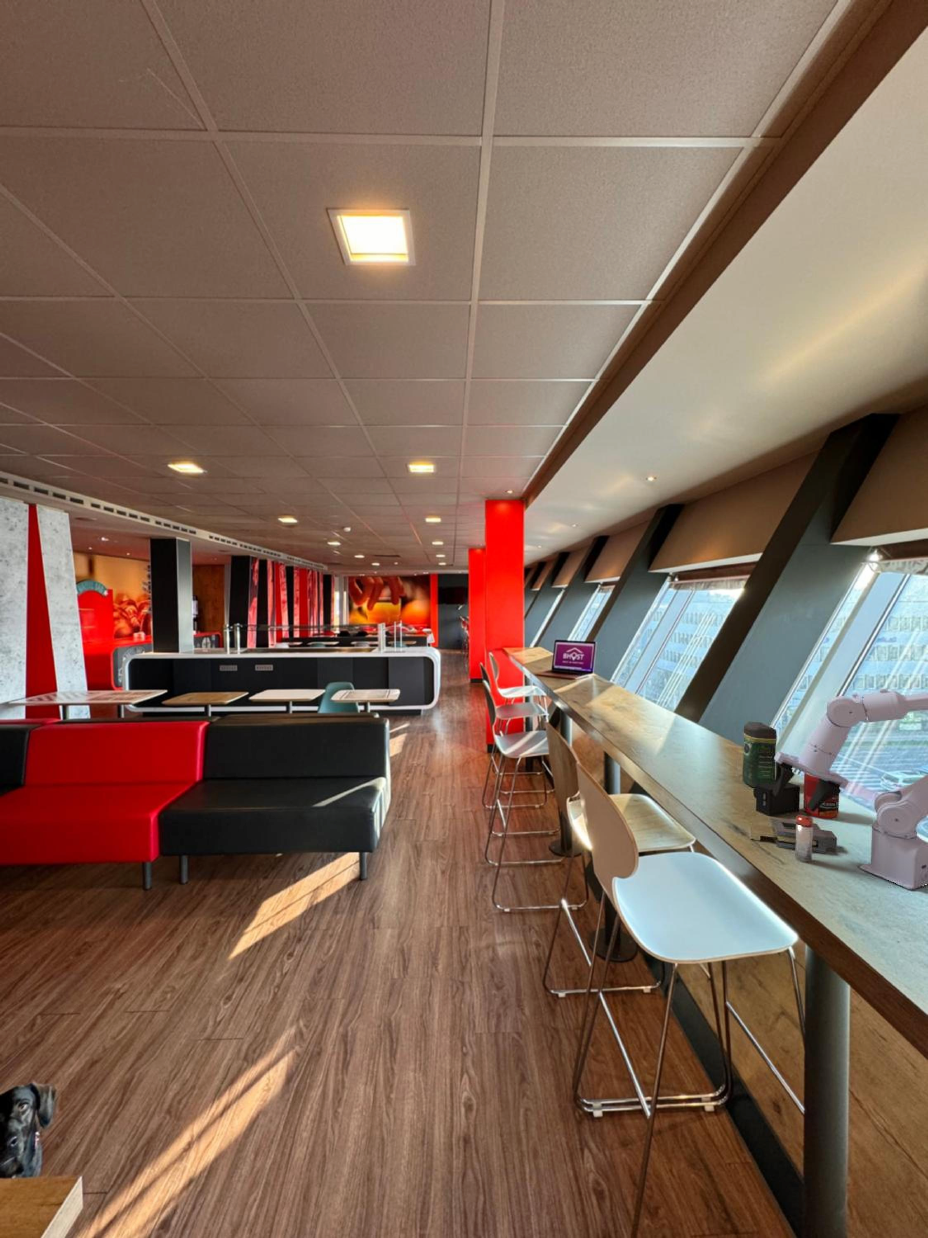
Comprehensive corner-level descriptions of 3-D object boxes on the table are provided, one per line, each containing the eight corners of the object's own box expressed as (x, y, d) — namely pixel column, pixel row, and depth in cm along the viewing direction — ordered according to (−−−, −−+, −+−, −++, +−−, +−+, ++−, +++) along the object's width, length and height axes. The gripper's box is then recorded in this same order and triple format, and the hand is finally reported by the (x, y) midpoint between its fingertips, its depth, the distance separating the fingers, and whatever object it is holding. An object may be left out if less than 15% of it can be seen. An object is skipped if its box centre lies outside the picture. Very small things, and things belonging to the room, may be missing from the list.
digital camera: (781, 805, 153) (782, 779, 152) (799, 812, 147) (800, 785, 147) (751, 809, 149) (752, 783, 149) (769, 816, 144) (769, 789, 144)
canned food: (822, 821, 141) (823, 777, 141) (795, 809, 149) (797, 768, 149) (846, 818, 143) (847, 775, 143) (818, 807, 151) (820, 766, 151)
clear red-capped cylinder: (814, 861, 119) (816, 819, 118) (804, 864, 118) (806, 821, 117) (801, 855, 122) (803, 814, 121) (791, 858, 120) (793, 816, 120)
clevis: (828, 840, 130) (829, 825, 129) (839, 855, 122) (839, 839, 122) (746, 830, 135) (747, 815, 135) (751, 843, 127) (752, 827, 127)
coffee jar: (779, 790, 164) (781, 727, 164) (751, 789, 165) (753, 726, 164) (765, 780, 174) (767, 720, 173) (738, 779, 175) (740, 719, 174)
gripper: (848, 754, 123) (818, 806, 126) (782, 728, 125) (754, 780, 128) (864, 768, 116) (832, 823, 119) (793, 740, 118) (764, 795, 121)
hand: (792, 802), depth 123 cm, fingers open, 7 cm apart
